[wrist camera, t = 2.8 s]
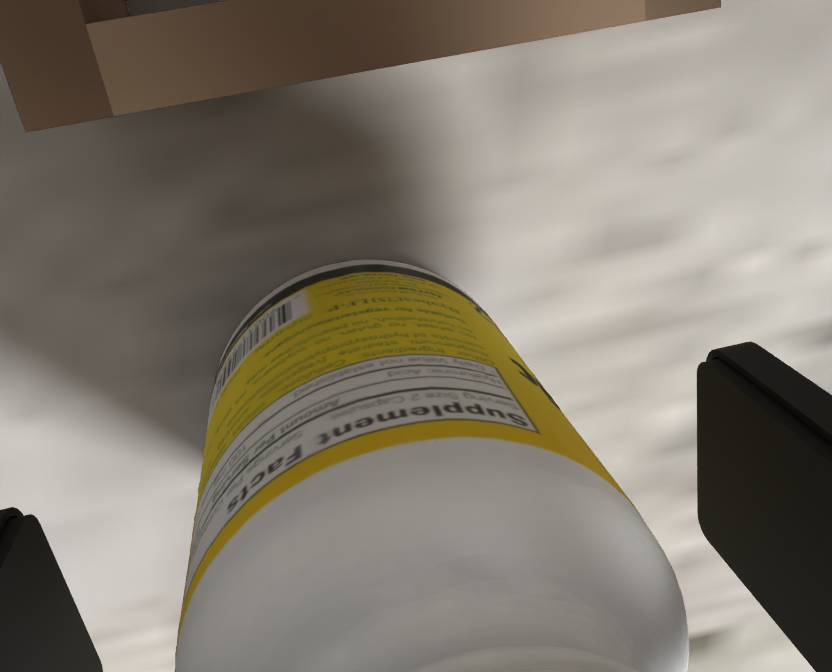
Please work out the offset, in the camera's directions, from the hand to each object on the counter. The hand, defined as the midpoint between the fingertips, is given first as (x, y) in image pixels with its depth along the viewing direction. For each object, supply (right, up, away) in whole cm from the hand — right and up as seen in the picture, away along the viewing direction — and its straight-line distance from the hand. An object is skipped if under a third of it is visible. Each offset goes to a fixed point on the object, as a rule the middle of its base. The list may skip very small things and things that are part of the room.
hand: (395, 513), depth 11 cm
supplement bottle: (-1, +2, +4) cm, 4 cm away
